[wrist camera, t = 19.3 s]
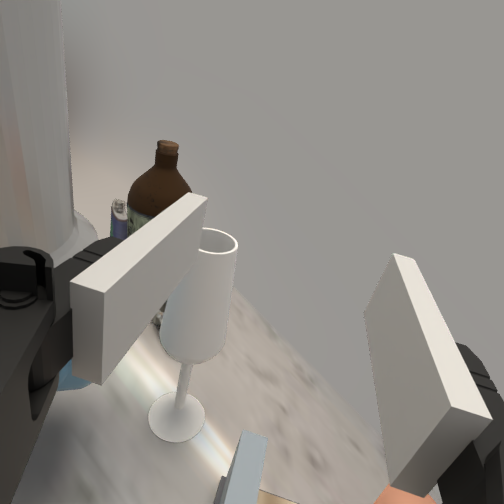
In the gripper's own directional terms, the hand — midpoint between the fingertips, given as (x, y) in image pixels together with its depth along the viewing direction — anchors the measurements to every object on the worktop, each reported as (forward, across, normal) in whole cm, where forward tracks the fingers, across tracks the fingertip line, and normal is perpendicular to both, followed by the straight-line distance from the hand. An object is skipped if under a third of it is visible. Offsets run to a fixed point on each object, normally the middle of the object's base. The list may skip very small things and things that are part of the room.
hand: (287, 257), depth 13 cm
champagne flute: (+15, -6, -32) cm, 36 cm away
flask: (+45, -32, -32) cm, 64 cm away
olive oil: (+39, -21, -32) cm, 55 cm away
